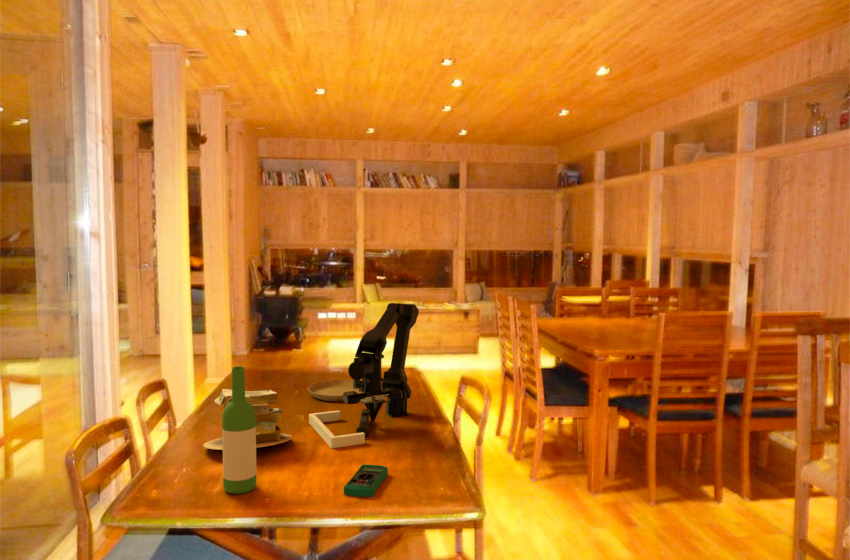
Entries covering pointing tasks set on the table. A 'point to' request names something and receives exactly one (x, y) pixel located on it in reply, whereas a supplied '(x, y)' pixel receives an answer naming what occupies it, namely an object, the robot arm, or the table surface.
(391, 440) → the table surface
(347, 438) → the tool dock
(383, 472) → the digital multimeter
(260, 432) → the plate of stacked boxes
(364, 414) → the hand tool
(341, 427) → the table surface
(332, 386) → the plant saucer
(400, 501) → the table surface
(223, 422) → the wine bottle
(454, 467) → the table surface
